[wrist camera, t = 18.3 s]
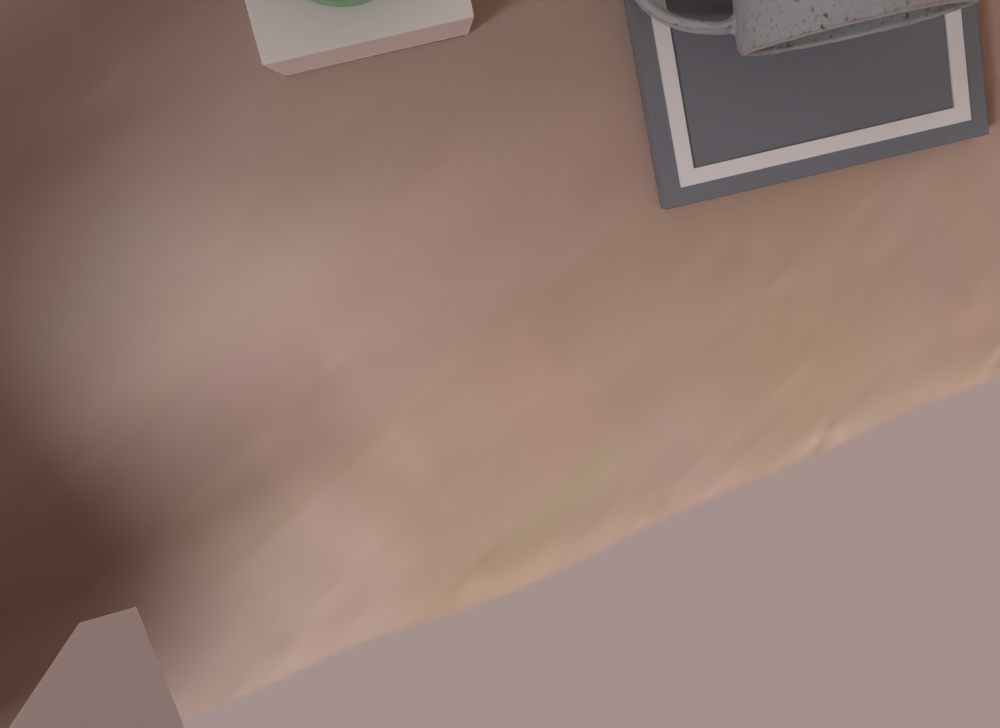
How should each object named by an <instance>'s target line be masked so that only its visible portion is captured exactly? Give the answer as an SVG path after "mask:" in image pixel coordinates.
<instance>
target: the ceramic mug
mask: <svg viewBox="0 0 1000 728" xmlns="http://www.w3.org/2000/svg"><path fill="white" fill-rule="evenodd" d="M635 1H636V2H637V3H638V5H639V6H640V7H641V9H642V10H644V11H645V12H646V13H648V14H649V15H650V16H651V17H653V18H654V19H655V20H657V21H659V22H661V23H663V24H664V25H666V26H669V27H671V28H674V29H677V30H680V31H683V32H688V33H695V34H706V35H726V34H732V35H735V39H736V45H737V50H738V51H739V53H740V54H741V55H742V56H759V55H768V54H777V53H780V52H784V51H789V50H795V49H804V48H809V47H814V46H818V45H823V44H828V43H832V42H840V41H843V40H846V39H852V38H856V37H860V36H864V35H868V34H873V33H877V32H882V31H886V30H890V29H894V28H898V27H903V26H907V25H911V24H914V23H917V22H920V21H923V20H928V19H932V18H935V17H938V16H940V15H946V14H948V13H950V12H954V11H957V10H960V9H962V8H966V7H968V6H971V5H973V4H975V3H978V2H979V1H980V0H732V4H733V14H732V16H731V17H730V18H729V19H727V20H724V21H705V20H697V19H691V18H686V17H681V16H678V15H676V14H673V13H671V12H669V11H668V10H667V9H666V8H664V7H663V6H661V5H659V4H658V3H657V1H656V0H635Z"/></svg>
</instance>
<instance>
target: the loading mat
mask: <svg viewBox="0 0 1000 728" xmlns="http://www.w3.org/2000/svg"><path fill="white" fill-rule="evenodd" d="M656 1H657V3H658V4H659V5H661V6H663V7H664V8H666V9H667V10H668V11H669V12H671V13H673V14H676V15H678V16H681V17H686V18H691V19H697V20H705V21H724V20H727V19H729V18H730V17H731V16H732V14H733V4H732V0H656ZM624 3H625V8H626V14H627V19H628V25H629V30H630V36H631V42H632V47H633V53H634V58H635V64H636V69H637V75H638V81H639V86H640V92H641V97H642V103H643V108H644V114H645V120H646V125H647V131H648V136H649V142H650V148H651V153H652V159H653V164H654V170H655V175H656V181H657V187H658V192H659V198H660V203H661V208H663V209H670V208H674V207H679V206H683V205H687V204H692V203H696V202H700V201H704V200H709V199H713V198H717V197H722V196H726V195H730V194H734V193H739V192H743V191H747V190H751V189H756V188H760V187H764V186H769V185H773V184H777V183H781V182H786V181H790V180H794V179H798V178H803V177H807V176H811V175H816V174H820V173H824V172H828V171H833V170H837V169H841V168H845V167H850V166H854V165H858V164H863V163H867V162H871V161H875V160H880V159H884V158H888V157H893V156H897V155H901V154H905V153H910V152H914V151H918V150H922V149H927V148H931V147H935V146H940V145H944V144H948V143H952V142H957V141H961V140H965V139H969V138H974V137H978V136H982V135H987V134H989V129H988V118H987V107H986V95H985V84H984V73H983V62H982V51H981V40H980V29H979V18H978V7H977V3H975V4H973V5H971V6H968V7H966V8H962V9H960V10H957V11H954V12H950V13H948V14H946V15H940V16H938V17H935V18H932V19H928V20H923V21H920V22H917V23H914V24H911V25H907V26H903V27H898V28H894V29H890V30H886V31H882V32H877V33H873V34H868V35H864V36H860V37H856V38H852V39H846V40H843V41H840V42H832V43H828V44H823V45H818V46H814V47H809V48H804V49H795V50H789V51H784V52H780V53H777V54H768V55H759V56H742V55H741V54H740V53H739V51H738V50H737V45H736V39H735V35H732V34H726V35H706V34H695V33H688V32H683V31H680V30H677V29H674V28H671V27H669V26H666V25H664V24H663V23H661V22H659V21H657V20H655V19H654V18H653V17H651V16H650V15H649V14H648V13H646V12H645V11H644V10H642V9H641V7H640V6H639V5H638V3H637V2H636V1H635V0H624Z"/></svg>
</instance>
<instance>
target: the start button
mask: <svg viewBox="0 0 1000 728" xmlns="http://www.w3.org/2000/svg"><path fill="white" fill-rule="evenodd" d="M310 1H313V2H315V3H318V4H322V5H326V6H332V7H351V6H358V5H362V4H365V3H368V2H370V1H373V0H310Z"/></svg>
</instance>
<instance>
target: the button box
mask: <svg viewBox="0 0 1000 728" xmlns="http://www.w3.org/2000/svg"><path fill="white" fill-rule="evenodd" d="M245 4H246V8H247V11H248V15H249V19H250V22H251V26H252V29H253V33H254V37H255V40H256V44H257V48H258V51H259V55H260V59H261V62H262V65H263V66H265V67H267V68H269V69H272V70H274V71H276V72H278V73H281V74H283V75H285V76H288V75H293V74H297V73H301V72H306V71H310V70H314V69H319V68H323V67H327V66H332V65H336V64H340V63H345V62H349V61H353V60H358V59H362V58H366V57H371V56H375V55H379V54H384V53H388V52H392V51H397V50H401V49H406V48H410V47H414V46H419V45H423V44H427V43H432V42H436V41H440V40H445V39H449V38H453V37H458V36H462V35H466V34H469V31H470V28H471V25H472V22H473V19H474V13H473V9H472V4H471V0H373V1H370V2H368V3H365V4H362V5H358V6H351V7H332V6H326V5H322V4H318V3H315V2H313V1H310V0H245Z"/></svg>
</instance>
